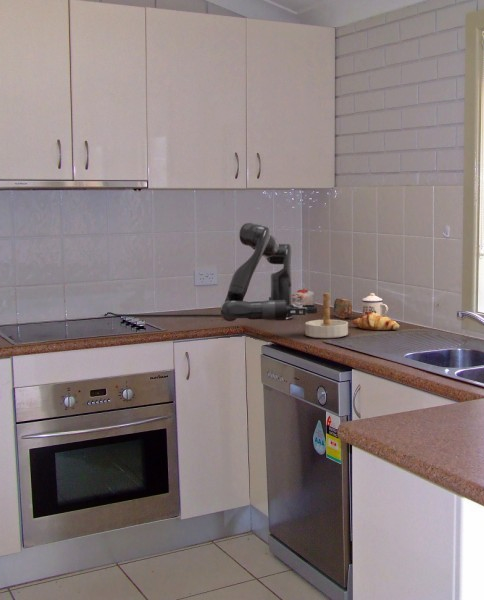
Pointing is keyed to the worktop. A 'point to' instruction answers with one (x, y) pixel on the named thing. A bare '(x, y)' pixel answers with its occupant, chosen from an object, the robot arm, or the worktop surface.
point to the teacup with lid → (373, 305)
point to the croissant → (375, 322)
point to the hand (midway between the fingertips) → (315, 308)
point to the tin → (342, 308)
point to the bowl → (326, 329)
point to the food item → (303, 297)
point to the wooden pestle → (326, 310)
